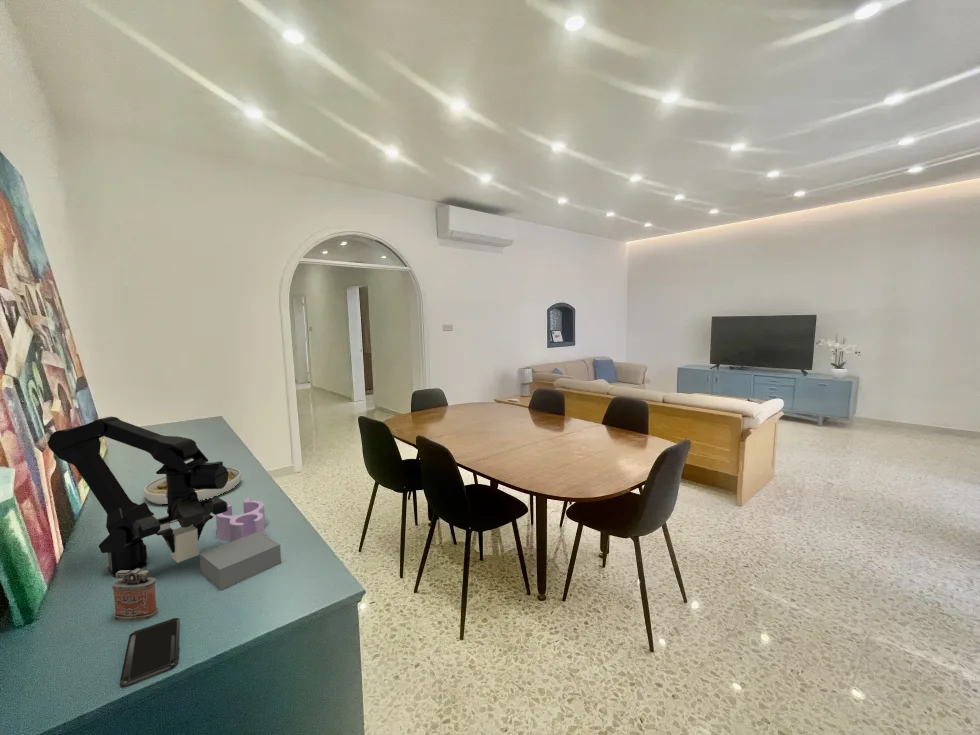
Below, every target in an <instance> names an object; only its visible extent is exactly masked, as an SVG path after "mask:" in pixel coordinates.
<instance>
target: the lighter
mask: <svg viewBox="0 0 980 735" xmlns="http://www.w3.org/2000/svg"><path fill="white" fill-rule="evenodd" d="M149 575H150V574H149V570H142V569H141V568H137V569H135V570H132V571H130V570H120V571H118V572H117V573H116V577H115V579H116V581H114V582H113V583H112V584H111V587H112V590H113V597H114V599H113V600H114V612H115V613H114V614H113V617H114V620H115V621H118V622H120V621H121V622H138V621H145V620H149V619H153V618H154V617H155V616H157V614H158V612H159V611H158V607H157V599H156V597H157V596H156V584H157V583H156V578H155V577H149ZM118 579H119V580H118Z"/></svg>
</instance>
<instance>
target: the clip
mask: <svg viewBox="0 0 980 735" xmlns="http://www.w3.org/2000/svg"><path fill="white" fill-rule="evenodd" d="M227 505H228V511H226V512H224V513H220V514H217V515H215V520H216V521H215V523H216V537H217V538H218V539H220V540H222V541H230V542H232V541H235V540H237V539H240V538H243V537H245V536H248V535H251V534H253V533H256V532H260V533H262V534H263V535H265V529H264V528H265V527H264V526H266V522H265V521H266V520H265V504H264V502H263V501H261V500H255V499H254V500H252V498H246V499H245V500H244V501H243V502H242V505H243V513H241V514H235V515H233V505H232V504H230V503H227Z"/></svg>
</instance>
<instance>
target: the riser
mask: <svg viewBox="0 0 980 735" xmlns="http://www.w3.org/2000/svg"><path fill="white" fill-rule="evenodd" d="M281 550H282V549H281V544H280V543H278V542H277V541H275V540H273V539H271V538H270V537H269V536H267V535H265V534H264V535H263V534H262V533H260V532H256V533H253V534H251V535H248V536H245V537H243V538H240V539H237V540H235V541H232V542H226V543H224V544H222V545H220V546H216V547H214V548H211V549H208V550H205V551H203V552H200V553H199V570H200V573H201V575H202V576H204V577H205V578H206V579H207V580H208V581H210V582H211V583H212V584H213V585H214V586H216V588H217V589H218V590H220V591H222V590H224V589H227V588H229V587H230V586H233V585H236V584H237V583H240V582H242V581H245V580H246V579H248V578H251V577H253V576H255V575H258V574H259V573H262V572H265V571H266V570H268V568H269V569H271V568H272V567H275V566H277V565H280V564H281V563H282V556H281V553H282V552H281Z"/></svg>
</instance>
